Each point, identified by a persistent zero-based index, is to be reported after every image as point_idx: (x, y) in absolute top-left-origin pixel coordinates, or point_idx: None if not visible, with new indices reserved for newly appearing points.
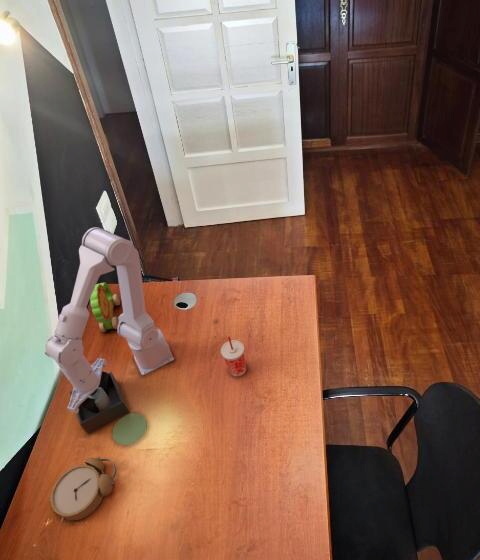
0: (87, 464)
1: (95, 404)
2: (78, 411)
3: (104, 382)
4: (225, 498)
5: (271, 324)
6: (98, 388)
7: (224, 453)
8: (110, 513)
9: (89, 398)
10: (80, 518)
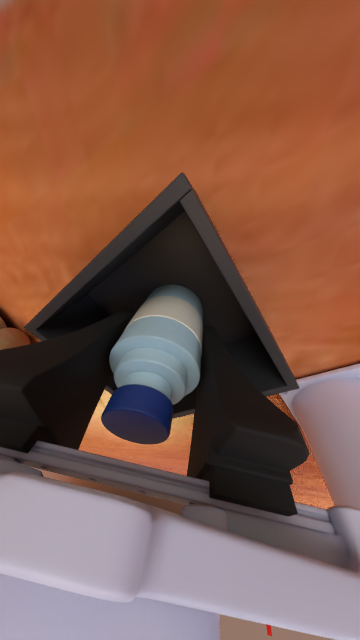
0: (1, 329)
1: (105, 384)
2: (70, 299)
3: (189, 462)
4: (79, 449)
5: (321, 501)
6: (178, 400)
7: (123, 453)
8: None
9: (61, 445)
10: None
